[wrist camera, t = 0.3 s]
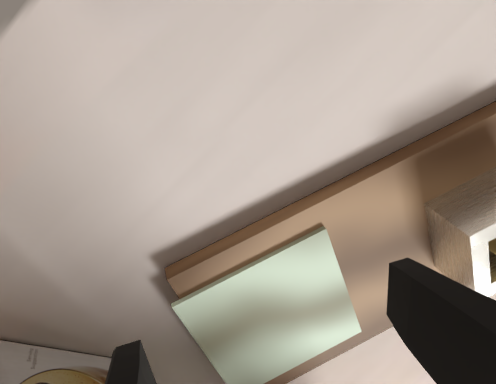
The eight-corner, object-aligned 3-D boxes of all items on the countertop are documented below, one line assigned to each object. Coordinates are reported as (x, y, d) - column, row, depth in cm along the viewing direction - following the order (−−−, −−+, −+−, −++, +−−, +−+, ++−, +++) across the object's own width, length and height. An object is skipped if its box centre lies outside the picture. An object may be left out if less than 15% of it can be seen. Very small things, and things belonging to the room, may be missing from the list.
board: (523, 242, 29) (602, 292, 24) (239, 392, 28) (265, 477, 23) (523, 87, 23) (628, 115, 18) (156, 272, 21) (167, 354, 17)
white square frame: (504, 229, 26) (555, 261, 23) (434, 266, 26) (476, 303, 23) (502, 163, 24) (558, 190, 21) (423, 203, 23) (469, 236, 20)
